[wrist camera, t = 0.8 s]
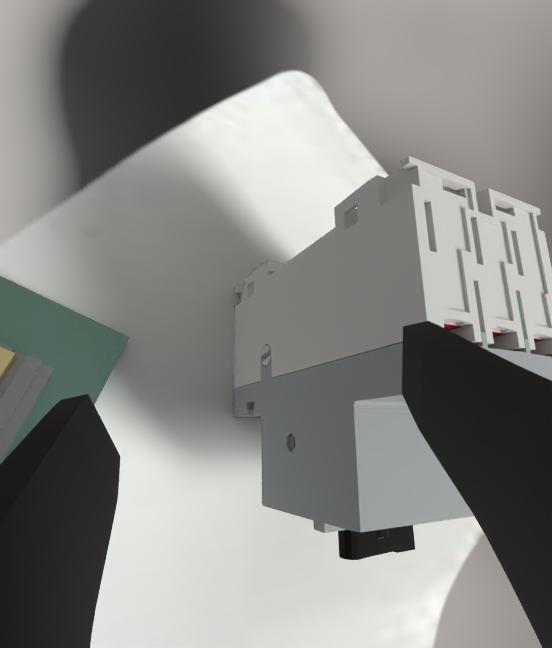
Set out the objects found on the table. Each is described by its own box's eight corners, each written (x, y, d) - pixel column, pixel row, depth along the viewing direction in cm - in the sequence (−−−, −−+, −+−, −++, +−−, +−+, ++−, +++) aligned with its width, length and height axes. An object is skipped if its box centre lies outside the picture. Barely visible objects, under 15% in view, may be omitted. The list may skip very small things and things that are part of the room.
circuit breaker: (231, 529, 23) (462, 634, 11) (234, 286, 27) (408, 149, 14) (341, 516, 27) (614, 583, 14) (330, 302, 31) (538, 203, 18)
